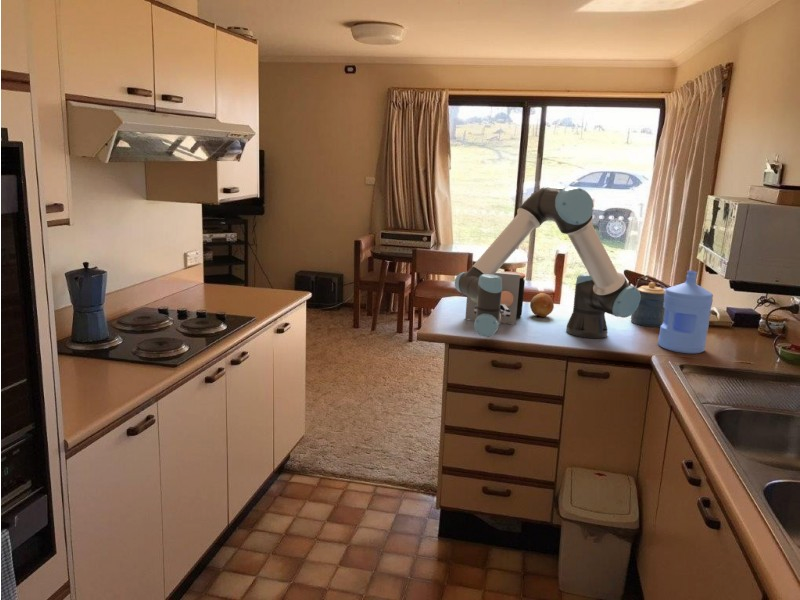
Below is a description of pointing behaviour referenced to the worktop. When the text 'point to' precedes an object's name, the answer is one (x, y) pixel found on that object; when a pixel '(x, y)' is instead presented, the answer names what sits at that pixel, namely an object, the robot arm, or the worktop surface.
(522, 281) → the coffee jar
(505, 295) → the terracotta button
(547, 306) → the onion
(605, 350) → the worktop surface
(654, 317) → the canister
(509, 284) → the panel
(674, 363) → the worktop surface
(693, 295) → the water jug
